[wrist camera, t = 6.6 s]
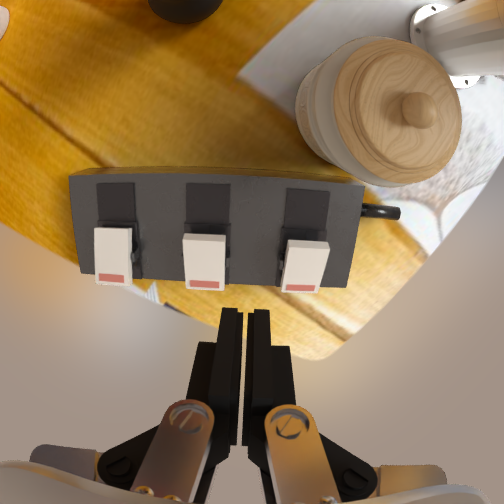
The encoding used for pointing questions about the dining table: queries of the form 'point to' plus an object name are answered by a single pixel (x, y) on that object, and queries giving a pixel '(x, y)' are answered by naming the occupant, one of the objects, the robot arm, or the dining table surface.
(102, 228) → the rocker
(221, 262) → the rocker
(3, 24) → the pill bottle
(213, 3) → the cola bottle
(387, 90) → the jar
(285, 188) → the switch box
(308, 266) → the rocker
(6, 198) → the dining table surface
